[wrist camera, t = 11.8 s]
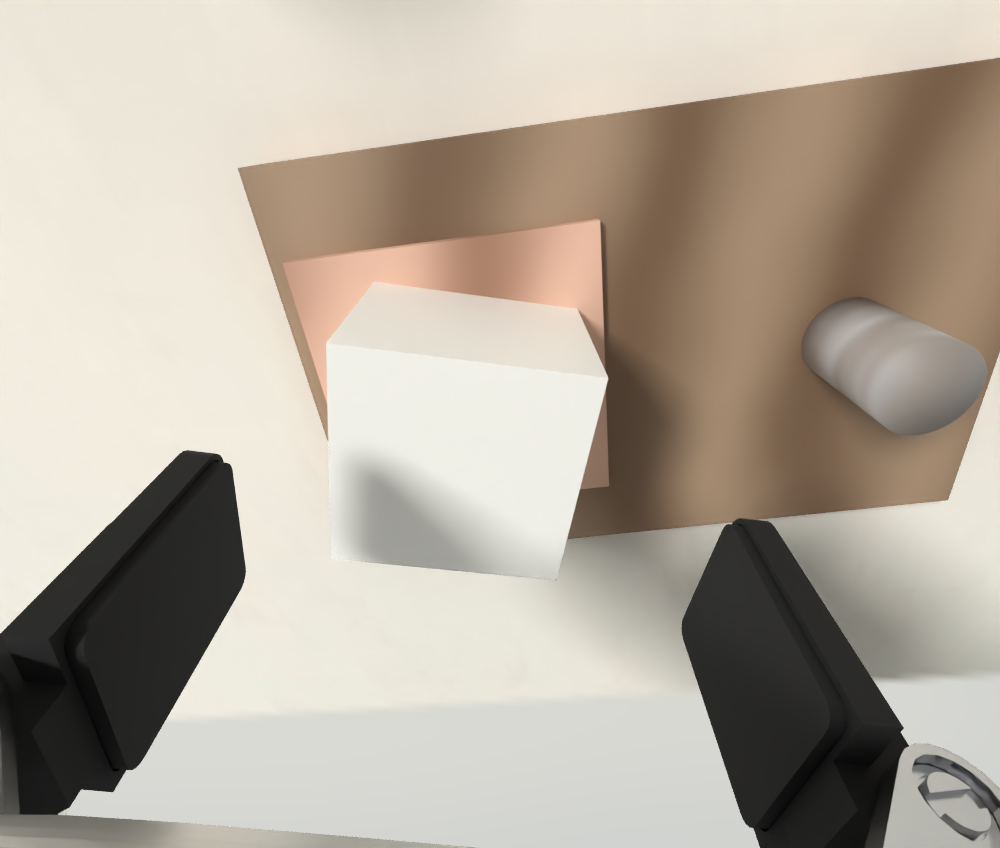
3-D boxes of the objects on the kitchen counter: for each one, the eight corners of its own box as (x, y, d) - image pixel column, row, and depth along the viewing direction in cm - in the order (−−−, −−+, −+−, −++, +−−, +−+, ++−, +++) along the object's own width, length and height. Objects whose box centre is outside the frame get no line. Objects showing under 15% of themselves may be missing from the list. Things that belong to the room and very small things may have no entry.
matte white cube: (577, 308, 16) (608, 377, 12) (542, 474, 19) (556, 580, 14) (373, 281, 15) (325, 342, 11) (369, 455, 18) (330, 558, 14)
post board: (1051, 50, 14) (1314, 14, 10) (919, 476, 21) (1038, 575, 17) (259, 164, 16) (160, 181, 11) (374, 533, 22) (342, 640, 18)
